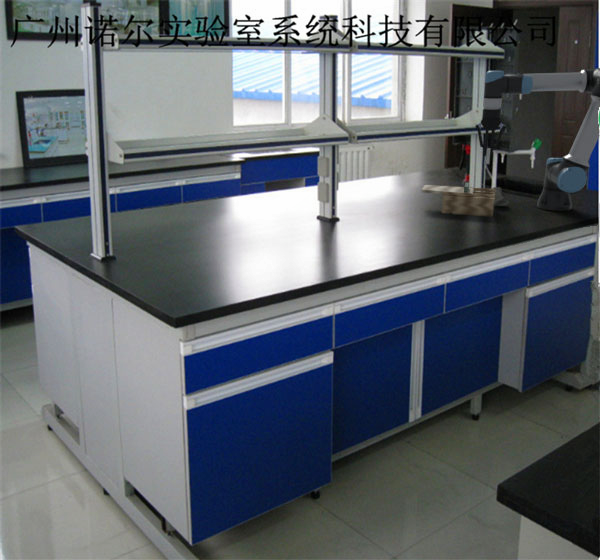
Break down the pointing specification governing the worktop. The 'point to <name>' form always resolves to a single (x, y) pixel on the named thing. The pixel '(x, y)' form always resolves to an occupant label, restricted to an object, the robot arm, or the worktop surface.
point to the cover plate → (446, 189)
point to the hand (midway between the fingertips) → (487, 163)
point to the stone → (499, 197)
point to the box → (469, 202)
